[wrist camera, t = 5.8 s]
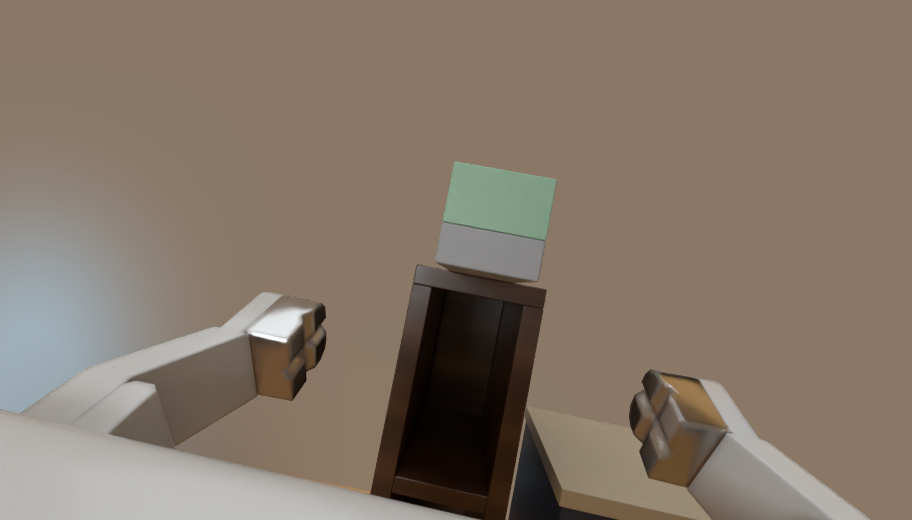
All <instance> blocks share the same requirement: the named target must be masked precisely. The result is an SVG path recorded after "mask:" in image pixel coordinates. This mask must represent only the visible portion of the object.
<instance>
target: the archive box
mask: <svg viewBox="0 0 912 520" xmlns="http://www.w3.org/2000/svg"><path fill="white" fill-rule="evenodd" d="M525 419H526V426H525V431H524V436H523V442H522V447H521V453H520V458H519V464H518V470H517V475H516V480H515V486H514V492H513V497H512V502H511V508H510V514H509V519H508V520H712V519H711V518H710V517H709V516H708V514H707V513H706V512H705V511H704V510H703V508H702V507H701V506H700V505H699V504H698V502H697V501H696V500H695V499H694V498H693V496H692V495H691V494H690V493H689V492H688V491H687V489H688V488H686V487H682V486H678V485H673V484H669V483H665V482H661V481H657V480H653V479H649V478H648V476H647V473H646V470H645V467H644V464H643V462H642V459H641V456H640V453H639V450H640V448H641V446H642V445H643V444H642V443H641V442H640V441H639V440H638V439H637V438H636V437H635V436H634V435H633V432H632V429H631V428H626V427H621V426H617V425H612V424H607V423H603V422H598V421H593V420H588V419H584V418H579V417H575V416H569V415H565V414H561V413H556V412H551V411H547V410H542V409H537V408H533V407H527V406H526V411H525Z"/></svg>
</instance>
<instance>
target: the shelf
mask: <svg viewBox="0 0 912 520" xmlns="http://www.w3.org/2000/svg"><path fill="white" fill-rule="evenodd" d="M413 283H414V284H413V285H412V290H411V295H410V300H409V306H408V310H407V315H406V320H405V325H404V330H403V335H402V340H401V345H400V350H399V355H398V359H397V364H396V369H395V374H394V379H393V384H392V389H391V394H390V399H389V404H388V409H387V414H386V419H385V424H384V429H383V434H382V439H381V444H380V449H379V454H378V458H377V463H376V468H375V473H374V479H373V483H372V488H371V493H370V494H371V495H375V496H380V497H384V498H388V499H393V500H397V501H401V502H406V503H410V504H414V505H419V506H423V507H427V508H432V509H436V510H440V511H445V512H449V513H453V514H458V515H462V516H466V517H471V518H475V519H479V520H505V518H506V512H507V507H508V501H509V496H510V490H511V484H512V479H513V473H514V468H515V463H516V457H517V452H518V446H519V441H520V435H521V430H522V424H523V418H524V413H525V408H526V402H527V397H528V391H529V386H530V380H531V375H532V369H533V364H534V358H535V352H536V347H537V342H538V336H539V331H540V325H541V320H542V314H543V308H544V303H545V297H546V292H547V291H546V290H545V289H542V288H537V287H531V286H526V285H521V284H516V283H511V282H506V281H501V280H495V279H490V278H485V277H480V276H475V275H470V274H465V273H460V272H454V271H449V270H443V269H439V268H434V267H429V266H423V265H417V266H416V271H415V276H414V281H413Z"/></svg>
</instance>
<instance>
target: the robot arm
mask: <svg viewBox="0 0 912 520" xmlns="http://www.w3.org/2000/svg"><path fill="white" fill-rule="evenodd" d="M325 318H326V313H325V306H324V305H323V304H322V303H318V302H314V301H309V300H304V299H300V298H296V297H291V296H285V295H281V294H276V293H271V292H263V293H261V294H260V295H258V296H257V297H256V298H255V299H254V300H253V301H251V302H250V303H249V304H248V305H247V306H245V307H244V308H243V309H242V310H241V311H239V312H238V313H237V314H236V315H235V316H234V317H232V318H231V319H230V320H229V321H228V322H227V323H225V324H224V325H223V326H222V327H221V328H219V327H211V328H208V329H205V330H202V331H199V332H196V333H193V334H190V335H187V336H183V337H180V338H177V339H174V340H171V341H168V342H165V343H162V344H159V345H156V346H153V347H149V348H146V349H144V350H140V351H137V352H134V353H131V354H128V355H125V356H122V357H119V358H116V359H113V360H109V361H107V362H103V363H100V364H97V365H94V366H91V367H88V368H86V369H85V370H83V371H81V372H80V373H79V374H77V375H76V376H74V377H73V378H71V379H70V380H68V381H67V382H65V383H64V384H62V385H61V386H59V387H58V388H56V389H55V390H53V391H52V392H51V393H49V394H48V395H46V396H45V397H43V398H42V399H40V400H39V401H38V402H36V403H34V404H33V405H32V406H30V407H28V408H27V409H26V410H24V411H23V412H21V413H20V414H18V413H14V412H9V411H5V410H1V409H0V520H479V519H475V518H471V517H466V516H462V515H458V514H453V513H449V512H445V511H440V510H436V509H432V508H427V507H423V506H419V505H414V504H410V503H406V502H401V501H397V500H393V499H388V498H384V497H380V496H375V495H371V494H367V493H362V492H358V491H353V490H349V489H345V488H340V487H336V486H332V485H327V484H323V483H319V482H314V481H310V480H306V479H301V478H297V477H293V476H288V475H284V474H279V473H275V472H271V471H266V470H262V469H258V468H253V467H249V466H245V465H240V464H236V463H232V462H227V461H223V460H219V459H214V458H210V457H205V456H201V455H197V454H192V453H188V452H184V451H179V450H176V449H175V446H177V445H178V444H180V443H181V442H183V441H185V440H187V439H188V438H190V437H191V436H193V435H195V434H196V433H198V432H200V431H201V430H203V429H205V428H206V427H208V426H209V425H211V424H213V423H214V422H216V421H218V420H219V419H221V418H223V417H224V416H226V415H228V414H229V413H231V412H233V411H234V410H236V409H237V408H239V407H241V406H242V405H244V404H246V403H247V402H249V401H250V400H252V399H254V398H255V397H257V394H258V395H264V396H269V397H274V398H279V399H284V400H290V401H293V399H294V398H295V396H296V395H297V393H298V392H299V390H300V389H301V388H302V386H303V385H304V383H305V382H306V372H307V371H309V370H311V369H313V368H315V367H316V365H317V364H318V362H319V361H320V359H321V357H322V354H323V352H324V349H325V344H326V331H325V329H324V328H323V327H322V325H321V323H322V322H323V321H324V319H325ZM642 384H643V386H644V388H645V389H644V390H643V391H641V392H639V393H637V394H635V396H634V398H633V400H632V403H631V405H630V413H629V419H630V426H631V429H632V432H633V435H634V436H635V437H636V438H637V439H638V440H639V441H640V442H641V443H642V444H643V445H642V446H641V448H640V450H639V453H640V456H641V459H642V462H643V464H644V467H645V470H646V473H647V476H648V478H649V479H653V480H657V481H661V482H665V483H669V484H673V485H678V486H682V487H686V488H688V489H687V491H688V492H689V493H690V494H691V495H692V496H693V498H694V499H695V500H696V501H697V502H698V504H699V505H700V506H701V507H702V508H703V510H704V511H705V512H706V513H707V514H708V516H709V517H710V518H711V519H712V520H871V519H870V518H868V517H867V516H866V515H864V514H863V513H862V512H860V511H859V510H858V509H856V508H855V507H854V506H852V505H851V504H850V503H848V502H847V501H846V500H845V499H843V498H842V497H841V496H839V495H838V494H837V493H835V492H834V491H832V490H831V489H830V488H829V487H827V486H826V485H825V484H823V483H822V482H821V481H819V480H818V479H817V478H815V477H814V476H812V475H811V474H810V473H809V472H807V471H806V470H805V469H803V468H802V467H801V466H799V465H798V464H796V463H795V462H794V461H793V460H791V459H790V458H789V457H787V456H786V455H785V454H783V453H782V452H781V451H779V450H778V449H777V448H775V447H774V446H772V445H771V444H770V443H769V442H767V441H763V440H760V439H759V438H758V437H757V435H756V434H755V432H754V431H753V430H752V428H751V426H750V425H749V423H748V422H747V421H746V419H745V418H744V416H743V415H742V413H741V412H740V411H739V409H738V408H737V406H736V405H735V403H734V402H733V400H732V399H731V397H730V396H729V395H728V393H727V392H726V390H725V389H724V387H723V386H722V385H721V384H720V383H718V382H717V381H713V380H707V379H701V378H696V377H693V378H692V377H687V376H681V375H676V374H671V373H666V372H661V371H656V370H649V371H648V372H647V373H646V374H645V376H644V378H643V380H642Z"/></svg>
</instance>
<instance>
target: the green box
mask: <svg viewBox="0 0 912 520" xmlns="http://www.w3.org/2000/svg"><path fill="white" fill-rule="evenodd" d="M556 183H557V180H556V179H551V178H546V177H539V176H535V175H529V174H523V173H518V172H511V171H506V170H501V169H495V168H489V167H484V166H478V165H472V164H467V163H461V162H455V163H454V166H453V172H452V176H451V181H450V186H449V191H448V196H447V202H446V206H445V211H444V217H443V223H442V227H441V232H440V237H439V243H438V247H437V252H436V257H435V262H436V263H438V264H439V265H441V266H443V267H445V268H446V269H448V270H450V271H454V272H460V273H465V274H470V275H475V276H480V277H485V278H490V279H495V280H501V281H506V282H511V283H523V282H538V280H539V276H540V270H541V265H542V259H543V254H544V248H545V240H546V237H547V232H548V227H549V221H550V216H551V210H552V205H553V200H554V194H555V189H556Z"/></svg>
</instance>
